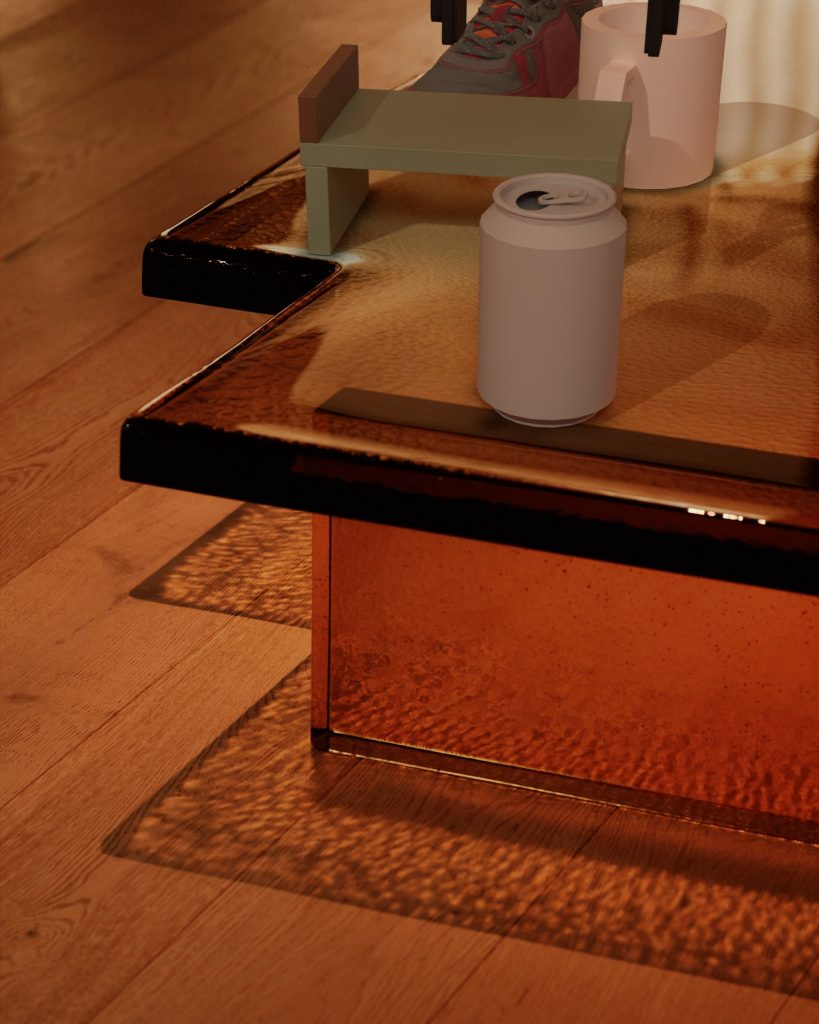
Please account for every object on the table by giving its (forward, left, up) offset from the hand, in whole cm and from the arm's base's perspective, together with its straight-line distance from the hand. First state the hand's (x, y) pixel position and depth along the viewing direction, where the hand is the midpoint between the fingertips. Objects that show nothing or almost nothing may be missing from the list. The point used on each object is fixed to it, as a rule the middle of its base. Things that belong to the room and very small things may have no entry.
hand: (552, 43), depth 77 cm
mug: (-3, -38, -19) cm, 42 cm away
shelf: (+8, -24, -19) cm, 31 cm away
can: (0, 0, -19) cm, 19 cm away
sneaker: (+8, -49, -19) cm, 53 cm away
